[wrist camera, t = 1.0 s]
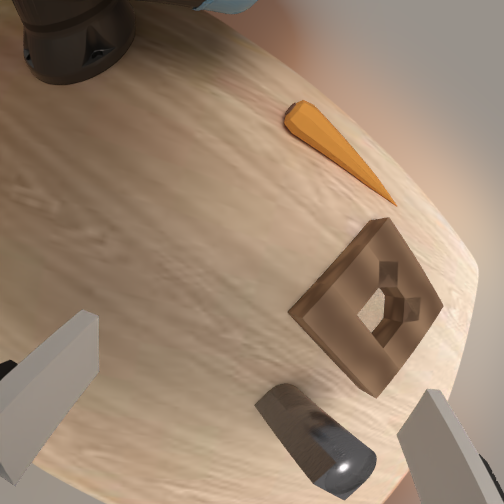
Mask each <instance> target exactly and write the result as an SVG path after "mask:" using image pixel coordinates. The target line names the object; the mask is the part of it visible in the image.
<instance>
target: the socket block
mask: <svg viewBox="0 0 504 504" xmlns="http://www.w3.org/2000/svg"><path fill="white" fill-rule="evenodd" d="M378 288H380V289H381V290H382V292H383V293H384V294H385V307H384V318H383V320H382V321H381V322H380V323H379V325H378V326H377V327H376V328H375V330H374V331H373V332H372V333H371V332H370V331H369V330H368V329H367V327H366V326H365V325H364V324H363V322H362V321H361V320H360V319H359V317H358V316H357V314H358V312H359V311H360V310H361V309H362V308H363V306H364V305H365V304H366V303H367V301H368V300H369V299H370V298H371V296H372V295H373V294H374V293H375V291H376V290H377V289H378ZM442 308H443V304H442V302H441V300H440V298H439V297H438V295H437V293H436V291H435V290H434V288H433V286H432V284H431V283H430V281H429V279H428V277H427V276H426V274H425V272H424V271H423V269H422V267H421V266H420V264H419V262H418V261H417V259H416V258H415V256H414V254H413V253H412V251H411V250H410V248H409V247H408V245H407V243H406V242H405V240H404V239H403V237H402V236H401V234H400V233H399V231H398V230H397V228H396V227H395V225H394V224H393V222H392V221H391V219H390V218H389V217H388V218H382V219H376V220H370V221H369V222H368V223H367V224H366V226H365V227H364V228H363V229H362V230H361V231H360V233H359V234H358V235H357V236H356V237H355V238H354V240H353V241H352V242H351V243H350V244H349V245H348V246H347V248H346V249H345V250H344V251H343V252H342V253H341V254H340V256H339V257H338V258H337V259H336V260H335V261H334V262H333V263H332V265H331V266H330V267H329V268H328V269H327V270H326V271H325V272H324V273H323V275H322V276H321V277H320V278H319V279H318V280H317V281H316V282H315V283H314V284H313V286H312V287H311V288H310V289H309V290H308V291H307V292H306V293H305V294H304V295H303V296H302V297H301V298H300V300H299V301H298V302H297V303H296V304H295V305H294V306H293V307H292V308H291V309H290V310H289V311H288V313H289V314H290V315H291V317H292V318H293V319H294V320H295V321H296V322H297V323H298V324H299V325H300V326H301V327H302V328H303V329H304V330H305V332H306V333H307V334H308V335H309V336H310V337H311V338H312V339H313V340H314V341H315V342H316V343H317V344H318V345H319V346H320V348H321V349H322V350H323V351H324V352H325V353H326V354H327V355H328V356H329V357H330V358H331V359H332V360H333V361H334V362H335V363H336V365H337V366H338V367H339V368H340V369H341V370H342V371H343V372H344V373H345V374H346V375H347V376H348V377H349V378H350V379H351V380H352V381H353V382H354V384H355V385H356V386H357V387H358V388H359V389H361V390H363V391H364V392H366V393H368V394H369V395H371V396H373V397H375V398H376V399H377V397H378V396H379V395H380V394H381V393H382V391H383V390H384V389H385V388H386V386H387V385H388V384H389V383H390V381H391V380H392V379H393V378H394V376H395V375H396V374H397V373H398V371H399V370H400V369H401V367H402V366H403V365H404V363H405V362H406V361H407V359H408V358H409V357H410V355H411V354H412V353H413V351H414V350H415V348H416V347H417V346H418V344H419V343H420V341H421V340H422V338H423V337H424V336H425V334H426V333H427V331H428V330H429V328H430V327H431V325H432V324H433V322H434V320H435V319H436V317H437V316H438V314H439V313H440V311H441V309H442Z"/></svg>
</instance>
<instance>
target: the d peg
mask: <svg viewBox="0 0 504 504" xmlns="http://www.w3.org/2000/svg"><path fill="white" fill-rule="evenodd" d="M255 407H256V408H257V410H258V411H259V412H260V414H261V415H262V417H263V418H264V420H265V421H266V422H267V424H268V425H269V426H270V428H271V429H272V431H273V432H274V433H275V435H276V436H277V437H278V439H279V440H280V441H281V443H282V444H283V446H284V447H285V448H286V449H287V451H288V452H289V453H290V455H291V456H292V457H293V459H294V460H295V461H296V463H297V464H298V465H299V466H300V468H301V469H302V470H303V472H304V473H305V474H306V475H307V477H308V478H309V479H310V480H311V482H312V483H313V484H315V485H316V486H318V487H320V488H322V489H324V490H325V491H327V492H329V493H331V494H333V495H335V496H337V497H339V498H341V499H343V500H346V499H347V498H348V497H349V496H350V495H351V494H352V493H353V492H354V491H356V490H357V489H358V488H359V487H360V486H361V485H362V484H363V483H364V482H365V481H366V480H367V479H368V478H369V476H370V475H371V474H372V472H373V470H374V468H375V465H376V460H377V458H376V454H375V453H374V452H373V451H372V450H371V449H370V448H368V447H367V446H366V445H365V444H363V443H362V442H361V441H360V440H358V439H357V438H356V437H355V436H353V435H352V434H351V433H350V432H348V431H347V430H346V429H345V428H344V427H342V426H341V425H340V424H339V423H337V422H336V421H335V420H334V419H333V418H331V417H330V416H329V415H328V414H327V413H326V412H324V411H323V410H322V409H321V408H320V407H318V406H317V405H316V404H315V403H314V402H313V401H311V400H310V399H309V398H308V397H307V396H306V395H305V394H303V393H302V392H301V391H300V390H299V389H298V388H296V387H295V386H293V385H291V384H280V385H277V386H275V387H273V388H272V389H271V390H270V391H269V392H268V393H267V394H265V395H264V396H263V397H262V398H261V399H260V400H259V401H258V402H257V403H256V404H255Z"/></svg>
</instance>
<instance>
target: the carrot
mask: <svg viewBox="0 0 504 504" xmlns="http://www.w3.org/2000/svg"><path fill="white" fill-rule="evenodd" d="M285 115H286V117H285V120H284V124H285V125H286V126H287V128H288V129H289V130H290V131H291V133H292V134H294V135H296V136H297V137H299V138H300V139H302V140H303V141H305V142H306V143H308V144H309V145H311V146H312V147H314V148H315V149H317V150H318V151H320V152H321V153H323V154H324V155H326V156H327V157H328V158H330V159H331V160H333V161H334V162H336V163H337V164H338V165H340V166H341V167H343V168H344V169H345V170H347V171H348V172H350V173H351V174H352V175H354V176H355V177H356V178H358V179H359V180H360V181H362V182H363V183H364V184H366V185H367V186H368V187H370V188H371V189H373V190H374V191H376V192H377V193H379V194H380V195H381V196H383V197H384V198H386V199H387V200H389V201H390V202H391V203H393V204H394V205H396V204H395V202H394V201H393V199H392V198H391V196H390V195H389V193H388V192H387V190H386V189H385V188H384V186H383V185H382V183H381V182H380V180H379V179H378V178H377V176H376V175H375V174H374V173H373V171H372V170H371V169H370V168H369V166H368V165H367V164H366V163H365V161H364V160H363V159H362V158H361V157H360V156H359V154H358V153H357V152H356V151H355V150H354V148H353V147H352V146H351V145H350V144H349V143H348V142H347V140H346V139H345V138H344V137H343V136H342V135H341V134H340V133H339V131H338V130H337V129H336V128H335V127H334V126H333V125H332V124H331V123H330V122H329V121H328V119H327V118H326V117H325V116H324V115H323V114H322V113H321V112H320V111H319V110H318V109H317V108H316V107H315V106H314V105H313V104H311V103H309V102H307V101H305V100H302V101H300V102H298V103H294V104H292V105H291V106H290V107H289V108H288V110H287V111H286V113H285ZM396 206H397V205H396Z"/></svg>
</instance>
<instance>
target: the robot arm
mask: <svg viewBox="0 0 504 504" xmlns="http://www.w3.org/2000/svg"><path fill="white" fill-rule="evenodd" d="M12 1H13V3H14V6H15V8H16V10H17V12H18V14H19V16H20V18H21V20H22V22H23V25H24V38H23V42H24V58H25V61H26V63H27V65H28V67H29V69H30V70H31V72H32V73H33V75H34V76H35V77H36V78H38V79H39V80H41V81H43V82H46V83H50V84H71V83H76V82H80V81H83V80H86V79H88V78H91V77H93V76H95V75H97V74H99V73H101V72H103V71H104V70H106V69H107V68H109V67H110V66H112V65H113V64H114V63H115V62H117V61H118V60H119V59H120V58H121V57H122V56H123V55H124V53H125V52H126V51H127V50H128V48H129V47H130V45H131V43H132V41H133V38H134V35H135V14H134V10H133V8H132V6H131V4H130V3H129V1H128V0H12ZM137 1H148V2H157V3H165V4H173V5H179V6H186V7H191V8H192V10H195V11H200V10H208V11H214V12H220V13H225V14H238V13H241V12H243V11H245V10H247V9H249V8H250V7H251V6H252V5H253V4H254V3H255V2H256V1H257V0H137ZM98 373H99V315H96V314H93V313H91V312H88V311H85V310H83V309H82V310H81V311H79V312H78V313H77V314H76V315H75V316H73V317H72V318H71V319H70V320H69V321H67V322H66V323H65V324H64V325H63V326H62V327H60V328H59V329H58V330H57V331H56V332H54V333H53V334H52V335H51V336H50V337H49V338H47V339H46V340H45V341H44V342H43V343H42V344H41V345H39V346H38V347H37V348H36V349H35V350H34V351H33V352H31V353H30V354H29V355H28V356H27V357H26V358H25V359H24V360H23V361H21V362H20V363H19V364H17V363H15V362H14V361H12V360H9V361H6V362H4V363H1V364H0V476H1V477H3V478H4V479H5V480H7V481H8V482H10V483H11V484H13V485H14V486H16V484H17V483H18V481H19V480H20V478H21V477H22V475H23V474H24V473H25V471H26V470H27V468H28V467H29V465H30V464H31V463H32V461H33V460H34V458H35V457H36V455H37V454H38V453H39V451H40V450H41V448H42V447H43V446H44V444H45V443H46V442H47V440H48V439H49V437H50V436H51V435H52V433H53V432H54V431H55V429H56V428H57V426H58V425H59V424H60V422H61V421H62V420H63V418H64V417H65V416H66V414H67V413H68V412H69V410H70V409H71V408H72V406H73V405H74V404H75V402H76V401H77V400H78V398H79V397H80V396H81V395H82V393H83V392H84V391H85V389H86V388H87V387H88V385H89V384H90V383H91V382H92V380H93V379H94V378H95V376H96V375H97V374H98ZM397 437H398V440H399V442H400V445H401V448H402V450H403V453H404V456H405V458H406V461H407V464H408V467H409V469H410V472H411V475H412V478H413V481H414V484H415V486H416V489H417V492H418V495H419V498H420V501H421V504H504V493H503V491H502V489H501V487H500V485H499V483H498V481H496V477H495V475H494V474H492V470H491V468H490V466H489V464H488V463H487V461H486V460H485V459H483V457H482V456H481V455H480V454H478V453H477V451H476V449H475V447H474V446H473V444H472V442H471V440H470V439H469V437H468V435H467V433H466V432H465V430H464V428H463V427H462V425H461V423H460V421H459V420H458V418H457V416H456V415H455V413H454V412H453V410H452V408H451V407H450V405H449V403H448V402H447V400H446V399H445V397H444V395H443V394H442V392H441V391H440V390H434V389H426V391H425V393H424V394H423V396H422V398H421V399H420V401H419V402H418V404H417V405H416V407H415V409H414V410H413V412H412V413H411V415H410V416H409V418H408V419H407V420H406V422H405V423H404V425H403V426H402V428H401V429H400V431H399V432H398V433H397Z"/></svg>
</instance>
